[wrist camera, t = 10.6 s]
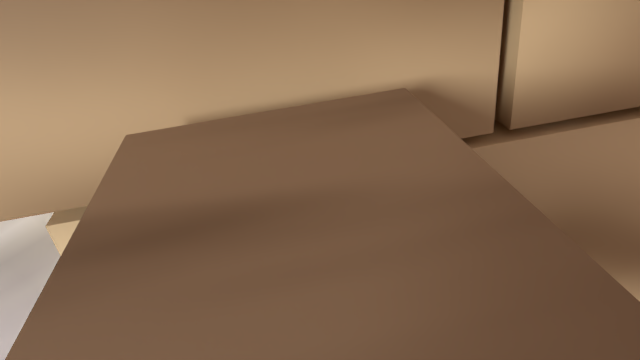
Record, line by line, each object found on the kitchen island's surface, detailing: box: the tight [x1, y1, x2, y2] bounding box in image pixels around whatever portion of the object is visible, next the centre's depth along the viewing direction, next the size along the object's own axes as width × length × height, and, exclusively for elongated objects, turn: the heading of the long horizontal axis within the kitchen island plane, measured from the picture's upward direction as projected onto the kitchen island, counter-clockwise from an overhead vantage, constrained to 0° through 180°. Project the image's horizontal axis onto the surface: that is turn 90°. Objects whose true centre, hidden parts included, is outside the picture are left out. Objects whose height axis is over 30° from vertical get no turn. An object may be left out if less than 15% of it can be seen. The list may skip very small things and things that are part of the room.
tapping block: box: [5, 88, 640, 360], centre depth 7 cm, size 5×5×6 cm
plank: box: [46, 107, 640, 301], centre depth 13 cm, size 8×20×2 cm, turn 97°
